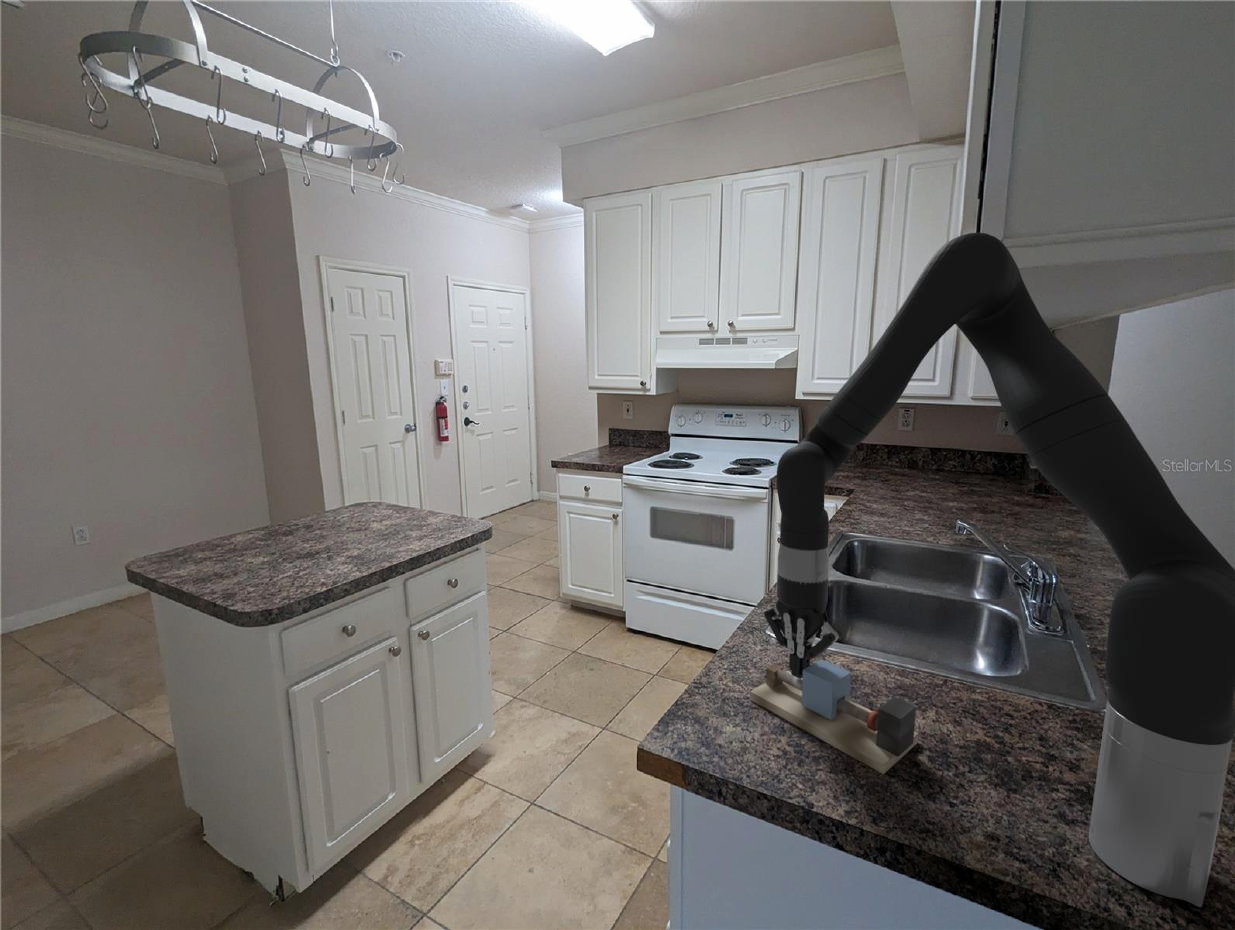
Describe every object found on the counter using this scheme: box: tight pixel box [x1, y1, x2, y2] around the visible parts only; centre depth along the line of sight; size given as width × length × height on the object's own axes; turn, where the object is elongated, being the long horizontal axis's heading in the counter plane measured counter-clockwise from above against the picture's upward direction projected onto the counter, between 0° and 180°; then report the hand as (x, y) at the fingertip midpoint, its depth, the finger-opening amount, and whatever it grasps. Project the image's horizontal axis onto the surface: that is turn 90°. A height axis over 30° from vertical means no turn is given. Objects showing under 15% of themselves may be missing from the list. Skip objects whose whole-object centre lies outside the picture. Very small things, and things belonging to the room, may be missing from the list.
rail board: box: [749, 663, 920, 775], centre depth 84 cm, size 22×10×7 cm, turn 38°
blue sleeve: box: [802, 659, 852, 720], centre depth 84 cm, size 5×5×6 cm
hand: (799, 675), depth 88 cm, fingers closed
